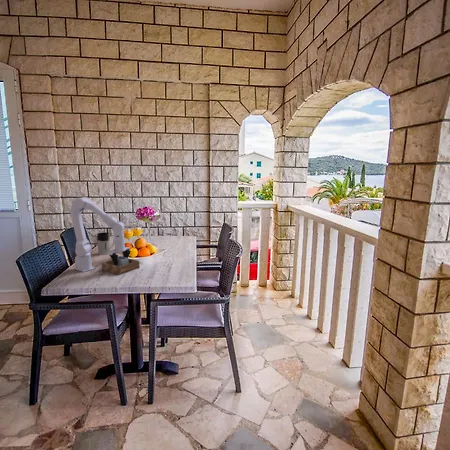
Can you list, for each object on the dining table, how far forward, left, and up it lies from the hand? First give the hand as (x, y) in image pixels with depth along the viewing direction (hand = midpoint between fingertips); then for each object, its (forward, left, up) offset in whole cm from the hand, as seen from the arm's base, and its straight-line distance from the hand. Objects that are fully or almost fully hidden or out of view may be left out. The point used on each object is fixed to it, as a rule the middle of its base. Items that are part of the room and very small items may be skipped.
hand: (120, 263), depth 180 cm
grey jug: (-37, +18, -4) cm, 41 cm away
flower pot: (-12, +16, -4) cm, 20 cm away
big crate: (0, 0, -3) cm, 3 cm away
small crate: (0, 0, -2) cm, 2 cm away
